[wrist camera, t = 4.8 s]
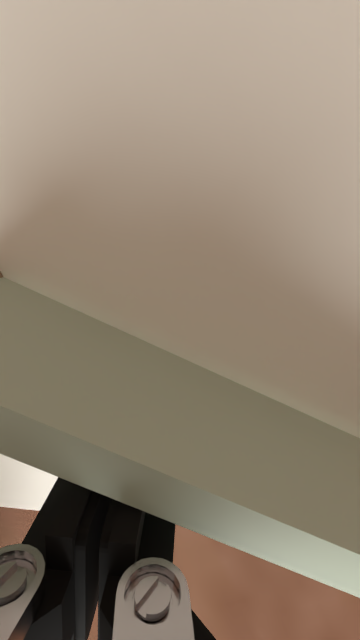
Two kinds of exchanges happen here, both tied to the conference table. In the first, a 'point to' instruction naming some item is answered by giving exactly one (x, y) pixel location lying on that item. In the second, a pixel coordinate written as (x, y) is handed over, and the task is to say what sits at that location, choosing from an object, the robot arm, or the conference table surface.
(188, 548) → the conference table surface
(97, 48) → the card
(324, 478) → the folding fence panel
